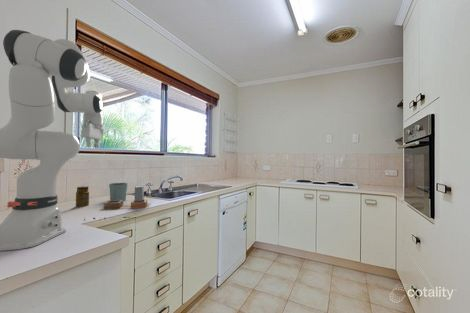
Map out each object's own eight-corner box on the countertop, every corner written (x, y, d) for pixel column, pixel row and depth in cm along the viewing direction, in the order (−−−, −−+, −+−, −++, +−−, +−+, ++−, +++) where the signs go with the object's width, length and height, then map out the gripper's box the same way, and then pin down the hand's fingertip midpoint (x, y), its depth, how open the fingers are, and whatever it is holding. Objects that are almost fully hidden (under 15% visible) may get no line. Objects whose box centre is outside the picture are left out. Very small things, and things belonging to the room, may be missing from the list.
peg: (142, 206, 121) (142, 187, 121) (134, 207, 120) (134, 187, 120) (143, 205, 125) (143, 186, 125) (135, 205, 124) (136, 186, 124)
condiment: (89, 206, 127) (89, 185, 127) (90, 209, 120) (91, 187, 120) (73, 208, 122) (73, 186, 122) (74, 211, 115) (74, 188, 115)
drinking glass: (106, 204, 131) (106, 184, 131) (111, 201, 141) (112, 182, 141) (124, 204, 134) (125, 184, 134) (128, 200, 143) (129, 182, 143)
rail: (148, 210, 118) (148, 202, 118) (98, 213, 112) (98, 204, 112) (150, 205, 130) (151, 198, 130) (106, 207, 124) (106, 199, 124)
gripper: (92, 119, 109) (91, 146, 109) (105, 124, 129) (105, 148, 129) (77, 118, 108) (77, 146, 108) (93, 124, 128) (93, 147, 128)
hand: (92, 147), depth 119 cm, fingers open, 8 cm apart
